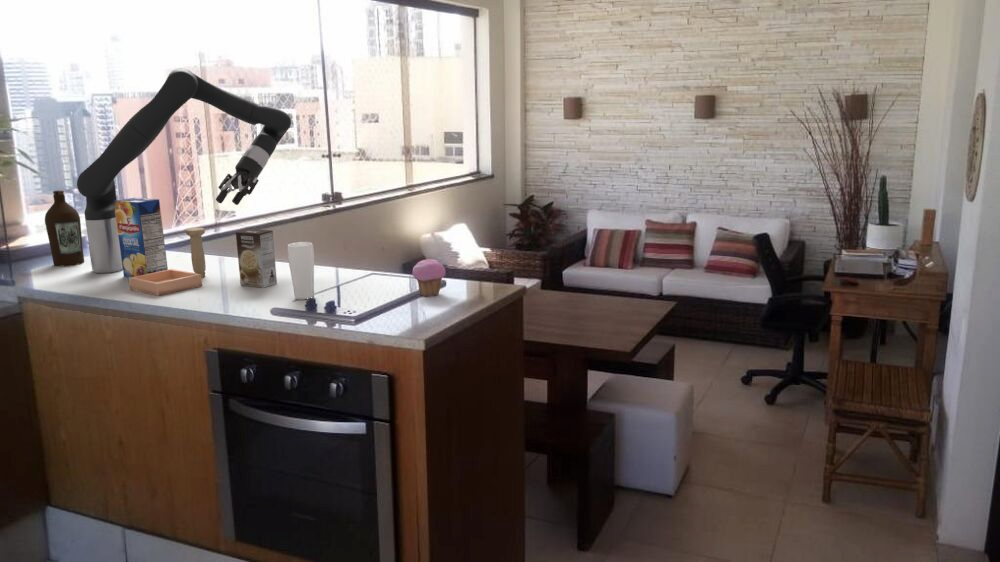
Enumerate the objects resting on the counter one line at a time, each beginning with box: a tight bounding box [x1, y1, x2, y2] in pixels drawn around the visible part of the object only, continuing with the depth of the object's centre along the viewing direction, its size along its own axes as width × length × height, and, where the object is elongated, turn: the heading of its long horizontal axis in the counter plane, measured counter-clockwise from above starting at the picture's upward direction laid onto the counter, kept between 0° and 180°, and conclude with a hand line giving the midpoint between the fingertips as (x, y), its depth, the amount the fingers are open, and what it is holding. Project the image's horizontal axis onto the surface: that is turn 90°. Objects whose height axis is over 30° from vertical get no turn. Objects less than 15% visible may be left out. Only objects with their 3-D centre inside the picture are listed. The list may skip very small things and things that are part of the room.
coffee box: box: [235, 228, 278, 289], centre depth 241 cm, size 9×6×16 cm
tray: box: [128, 268, 203, 297], centre depth 241 cm, size 15×14×4 cm
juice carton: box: [114, 197, 169, 278], centre depth 256 cm, size 12×8×24 cm, turn 59°
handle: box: [184, 227, 207, 278], centre depth 253 cm, size 5×6×15 cm
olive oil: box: [44, 189, 85, 267], centre depth 279 cm, size 11×11×25 cm
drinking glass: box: [287, 241, 315, 301], centre depth 223 cm, size 7×7×15 cm
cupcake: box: [412, 258, 446, 297], centre depth 223 cm, size 9×9×10 cm
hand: (226, 202), depth 259 cm, fingers open, 8 cm apart
